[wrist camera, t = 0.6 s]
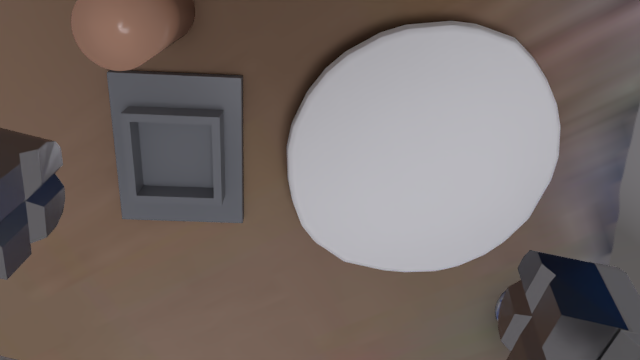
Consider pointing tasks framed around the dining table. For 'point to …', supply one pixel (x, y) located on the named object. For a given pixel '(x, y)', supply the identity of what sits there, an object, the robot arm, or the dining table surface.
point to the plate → (423, 147)
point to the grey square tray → (178, 145)
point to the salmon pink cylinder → (129, 29)
